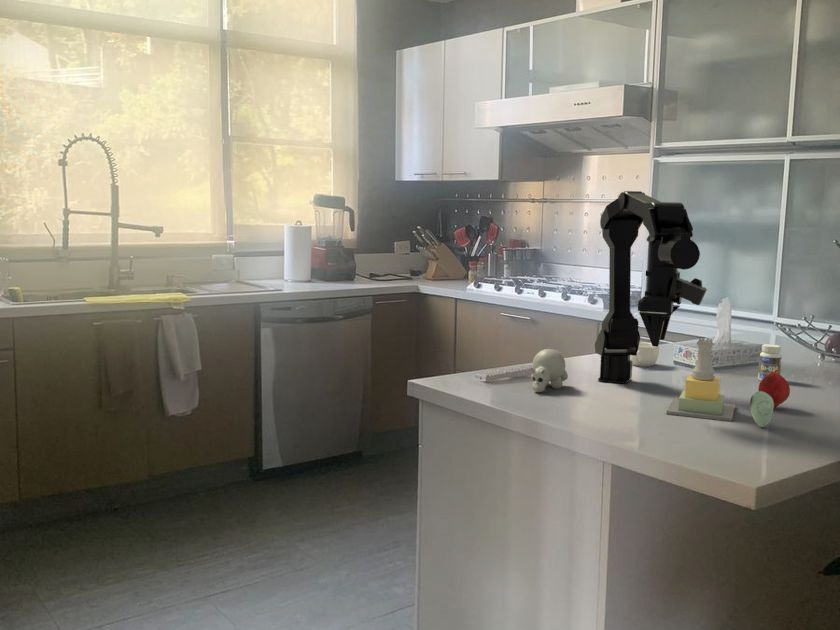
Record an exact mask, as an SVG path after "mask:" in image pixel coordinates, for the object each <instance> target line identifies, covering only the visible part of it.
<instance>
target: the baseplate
mask: <svg viewBox="0 0 840 630" xmlns="http://www.w3.org/2000/svg"><path fill="white" fill-rule="evenodd" d="M725 397H726V394H725V393H720V395H719V397H718V400H717V401H714V400H705V399H695V398H685V389H683V390H682V392H681V394H680V395H679V397H678V398H677V397H673V399H672V401H671V402H670V404H669V406H668V408H667V409H666V415H672V416H673V415H674V416H680V417H690V418H699V419H700V418H701V419H709V420H715V421H716V420H717V421H726V422H733V420H734V419H733V418H734V414H735V409H736V404H735V403H733V404H732V403H725Z"/></svg>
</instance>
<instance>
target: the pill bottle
mask: <svg viewBox="0 0 840 630" xmlns="http://www.w3.org/2000/svg"><path fill="white" fill-rule="evenodd" d="M781 347H782V346H781V345H779V344H771V343H764V344H761V352H760V354H759V360H758V362H759V363H758V374H757V380H759V381H760V382H761V381H762V379H763V378H765V377H766V376H767V375H769V374H771V373H772V371H773V370H775V369H778V370H779V371H780V372H779V374H780V375H781V369H782V368H781V366H782V354H781Z"/></svg>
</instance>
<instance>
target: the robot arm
mask: <svg viewBox="0 0 840 630" xmlns="http://www.w3.org/2000/svg"><path fill="white" fill-rule="evenodd" d="M599 224H600V229H601V230H602V232H601V233H602V234H601V235H602V238H603V240H604V241H605V243H606V245H607V247H608V248H609V267H608V268H609V270H608V271H609V272H608V273H609V280H608V281H609V285H608V286H609V287H608V290H609V291H608V293H609V295H608V297H609V298H608V312H607V314H606V315H605V317H604V319H603V320H602V323H601V330H600V331H599V333H598V336H597V337H596V340H595V342H594V351H595V353H596V354H597V355H599V356H600V367H599V368H600V371H599V377H598V378H597V379H598V380H597V381H598V382H606V383H617V384H628V382H629V381H630V380H631V379H632V376H633V364H632V361H631V360H630V355H634V356H636V355H637V352H638V347H639V342H641V334H640V331H639V325H640V324H639V320H638V319H637V318H636V317H635V316H634V314H633V313H632V312H631V311H632V310H631V273H632V272H631V268H632V265H631V260H632V257H631V256H632V254H631V253H632V251H631V249H632V246H633V245H634V243H635V242H636V241H637V238H638V236H639V229H640V227H641V226H642V224H643V226H644V227H645V228H646V230H647V232H648V234H649V235H648V236H647V238H646V241H647V242H648V250H647V251H648V253H647V254H648V255H647V270H645V277H646V290H645V291H644V296H643V297H642V298H640V299H639V300H638V301H637V311H638V312H639V313H638V314H639V315H640V317H641V320H642V322H643V325H644V328H645V330H646V332H647V335H648V338H649V340H650V343H651V344H652V346H655V347H657V346H658V345H659V344H660V342H661V341H663V340H665V338H666V335H667V331H668V326H669V324H670V320H671V316H672V315H673V313H674V312H676V310H678V309H679V308H680V305H681V304H682V299H684V300H687V301H689V302H691V303H692V304H694V305H697V306H700V305H701V303H702V301H703V299H704V297H705V295H706V293H707V288H706V287H704V286H703V280H702V279H699V278H696V277H694V278H693V279H692V280H691V281H689V280H685V279H683V278H680V277H681V276H680V275H681V272H679V270H689V269H692V268H694V267H695V266H696V265H697V264H698V262H699V260H700V257H701V256H700V255H701V253H700V250H699V249H700V247H699V246H698V245H697V243H695V241H693V240H692V239H691V238H693V236H694V235H693V230H694V228H693V224H692V223H691V220H690V218H689V214H688V211H687V209H686V207H685V205H684V204H683V203H682V202H674V201H671V202H670V201H669V202H668V201H667V202H666V201H665V202H663V201H660V200H658V199H656V198H653V197H651V196H649V195H647V194H646V193H645V192H642V191H635V190H633V191H632V190H630V191H629V190H624V191H622V192H620V193H619V196H618V197H617V198H616V199H615V200H613V201H612V202H610V203H609V204H607V205H606V206H605V208H604V210H603V211H602V214H601V215H600V221H599ZM678 269H679V270H678ZM660 340H661V341H660ZM659 346H660V345H659Z"/></svg>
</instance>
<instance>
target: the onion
mask: <svg viewBox="0 0 840 630" xmlns="http://www.w3.org/2000/svg"><path fill="white" fill-rule="evenodd" d="M779 372H780V374H779ZM757 390H758V391H762V392H765V393H767V394H768V395H770V396H771V397H772V399H773V402H774V408H773V409H776V408H777V407H779V406H780V405H781V404H783V403H784V402H786V400H788V398H789V397H790V393H791V388H790V385H789V383H788V381H787V380H786V379H785V377H783V376H782V375H781V370H780V371H779V370H778V369H775V370H773V371H772V373H771V374H769V375H767V376H766V377H765V378H763V379H762V381H761V380H760V382H759V383H758V389H757Z"/></svg>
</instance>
